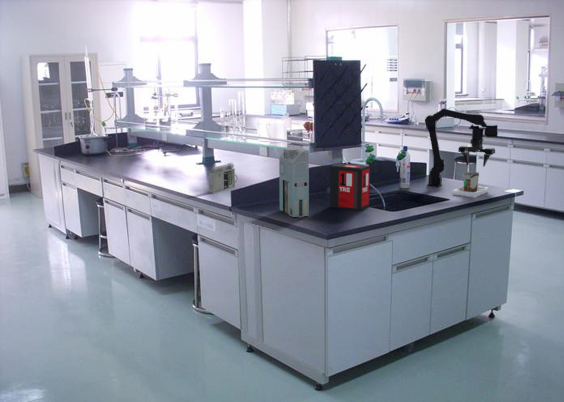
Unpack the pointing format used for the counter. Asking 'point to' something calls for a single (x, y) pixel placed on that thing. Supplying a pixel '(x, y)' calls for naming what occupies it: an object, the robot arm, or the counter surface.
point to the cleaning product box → (349, 186)
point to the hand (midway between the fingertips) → (475, 165)
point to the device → (294, 181)
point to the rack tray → (461, 192)
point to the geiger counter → (222, 178)
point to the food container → (470, 181)
